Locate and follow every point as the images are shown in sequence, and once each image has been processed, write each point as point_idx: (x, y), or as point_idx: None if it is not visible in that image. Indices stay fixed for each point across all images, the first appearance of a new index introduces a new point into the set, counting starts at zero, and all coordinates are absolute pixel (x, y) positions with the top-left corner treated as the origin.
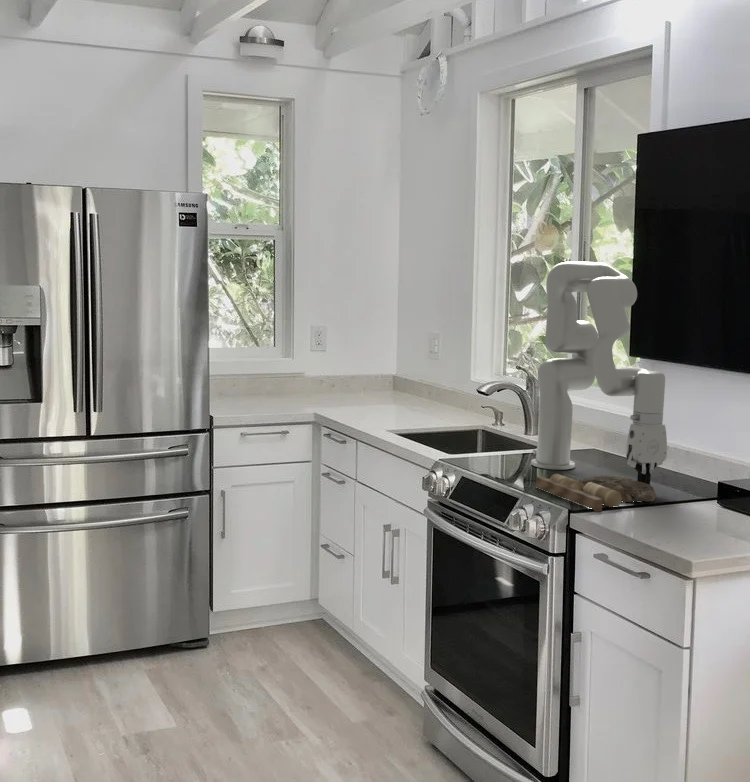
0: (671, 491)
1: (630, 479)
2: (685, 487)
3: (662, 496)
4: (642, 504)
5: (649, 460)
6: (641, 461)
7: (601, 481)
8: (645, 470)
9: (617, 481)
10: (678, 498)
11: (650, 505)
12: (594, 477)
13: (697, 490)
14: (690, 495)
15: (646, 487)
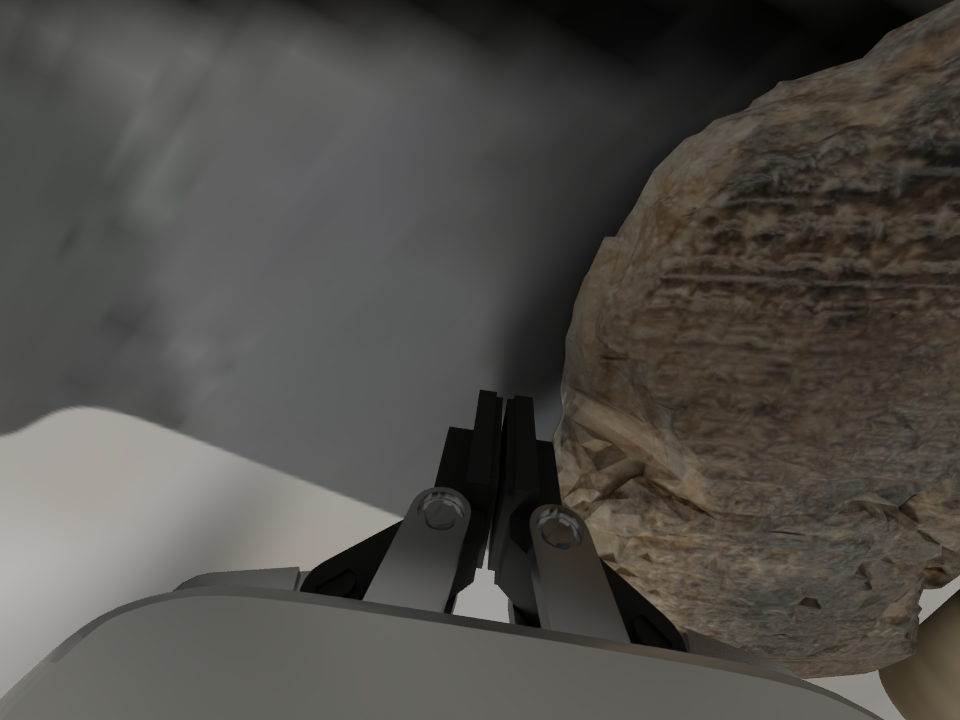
0: (254, 346)
1: (681, 509)
2: (80, 381)
3: (443, 261)
4: None
5: (599, 691)
6: (831, 717)
7: (918, 588)
8: (539, 540)
9: (890, 515)
10: (355, 129)
11: (910, 7)
12: None
13: (20, 278)
14: (166, 170)
15: (931, 167)
